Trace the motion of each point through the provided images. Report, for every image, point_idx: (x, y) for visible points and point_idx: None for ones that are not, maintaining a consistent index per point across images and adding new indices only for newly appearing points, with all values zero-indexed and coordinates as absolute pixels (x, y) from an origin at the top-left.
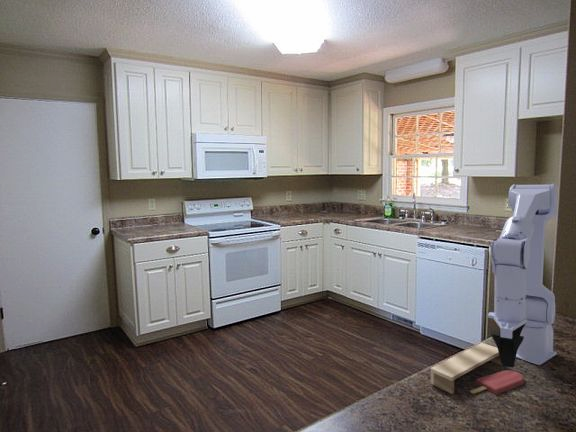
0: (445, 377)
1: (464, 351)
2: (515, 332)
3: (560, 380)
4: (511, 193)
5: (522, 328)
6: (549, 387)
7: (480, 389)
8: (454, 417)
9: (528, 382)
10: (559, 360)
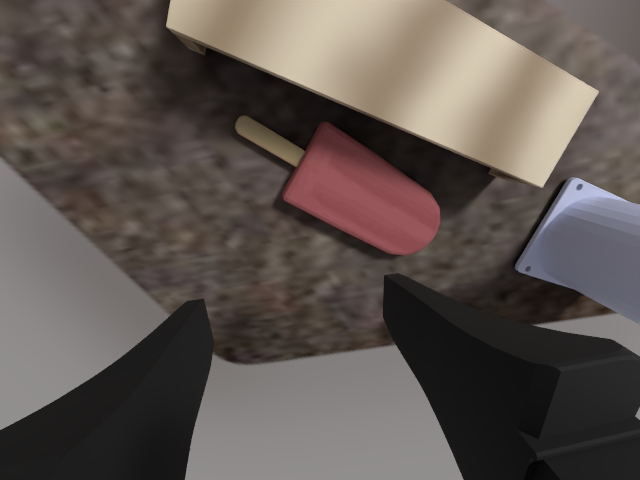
0: None
1: (487, 27)
2: (443, 402)
3: None
4: None
5: (462, 472)
6: None
7: (273, 149)
8: (25, 101)
9: (404, 260)
10: (556, 300)
